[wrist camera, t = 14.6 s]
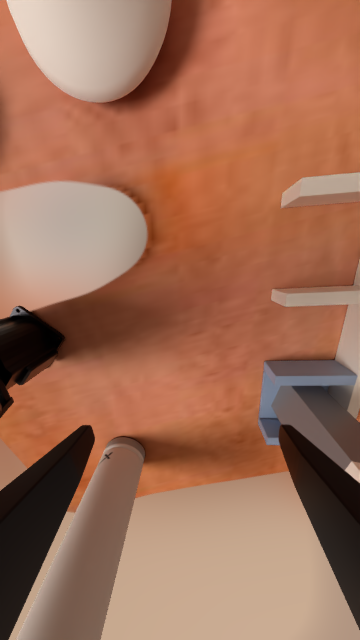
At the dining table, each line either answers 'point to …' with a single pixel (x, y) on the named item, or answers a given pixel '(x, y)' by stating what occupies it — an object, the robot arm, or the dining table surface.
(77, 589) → the travel mug
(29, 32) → the flower in vase
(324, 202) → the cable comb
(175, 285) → the dining table surface
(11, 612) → the robot arm
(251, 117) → the dining table surface
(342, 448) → the grey tall block
